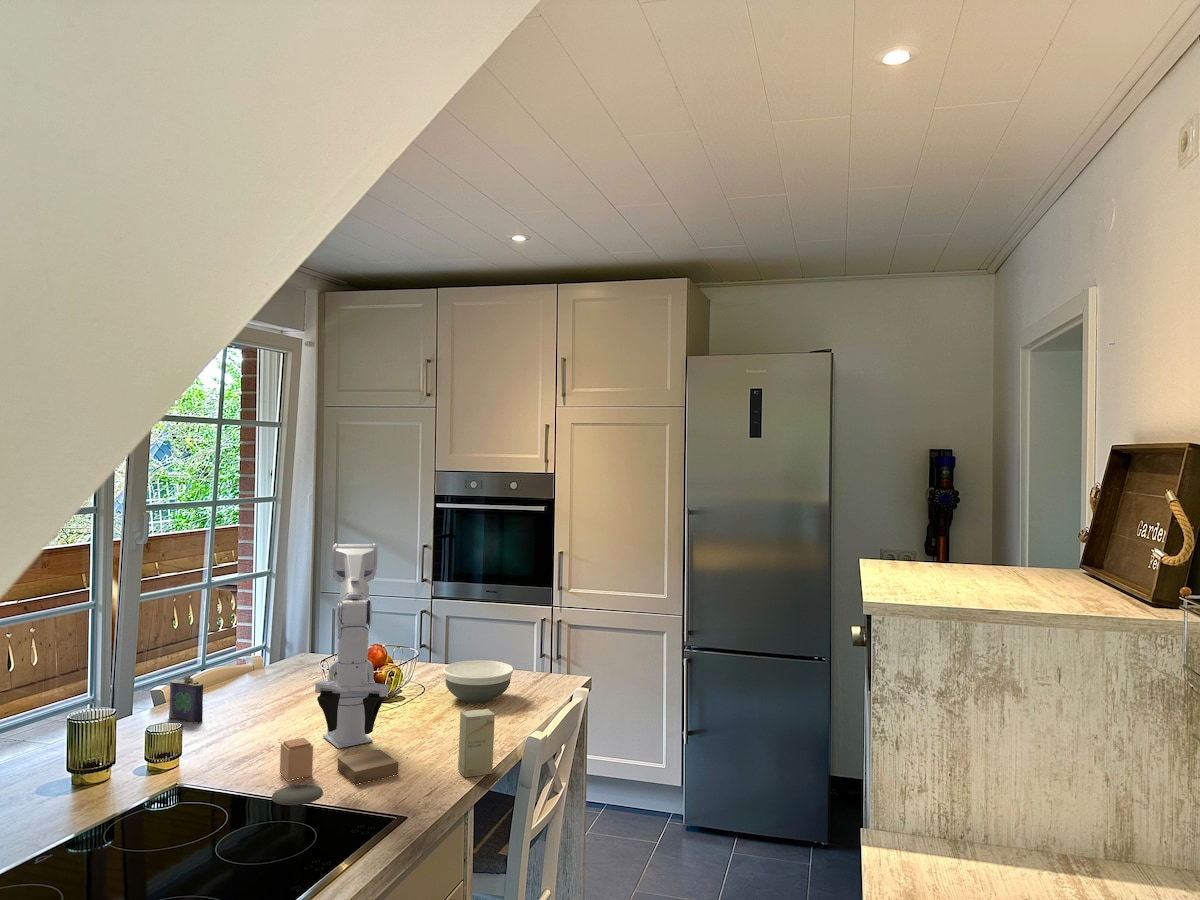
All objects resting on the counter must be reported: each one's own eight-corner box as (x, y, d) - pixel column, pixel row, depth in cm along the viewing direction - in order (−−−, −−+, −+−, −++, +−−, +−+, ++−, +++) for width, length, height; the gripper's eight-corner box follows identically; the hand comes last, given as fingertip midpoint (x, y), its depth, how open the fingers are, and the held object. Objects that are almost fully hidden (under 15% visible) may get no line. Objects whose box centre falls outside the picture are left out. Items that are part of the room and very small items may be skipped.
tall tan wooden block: (279, 773, 163) (280, 741, 163) (303, 768, 166) (305, 736, 166) (287, 781, 160) (288, 748, 160) (312, 776, 162) (313, 743, 163)
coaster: (265, 794, 154) (265, 791, 154) (313, 784, 160) (313, 780, 160) (280, 811, 147) (280, 808, 147) (329, 799, 152) (329, 796, 152)
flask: (166, 719, 194) (168, 674, 194) (176, 715, 197) (178, 671, 197) (196, 724, 191) (198, 678, 191) (206, 720, 194) (208, 675, 194)
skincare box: (464, 778, 163) (465, 717, 164) (457, 770, 167) (459, 711, 167) (493, 773, 166) (495, 713, 166) (486, 766, 170) (488, 707, 170)
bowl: (477, 685, 230) (477, 656, 231) (527, 698, 219) (528, 667, 220) (427, 700, 215) (427, 669, 215) (478, 714, 204) (479, 681, 204)
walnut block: (337, 772, 166) (337, 757, 166) (379, 763, 171) (379, 749, 171) (354, 787, 159) (355, 771, 159) (398, 777, 164) (398, 762, 164)
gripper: (308, 663, 158) (305, 734, 157) (378, 667, 156) (376, 739, 155) (326, 656, 165) (324, 725, 164) (393, 660, 163) (391, 729, 162)
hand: (350, 731), depth 160 cm, fingers open, 7 cm apart
